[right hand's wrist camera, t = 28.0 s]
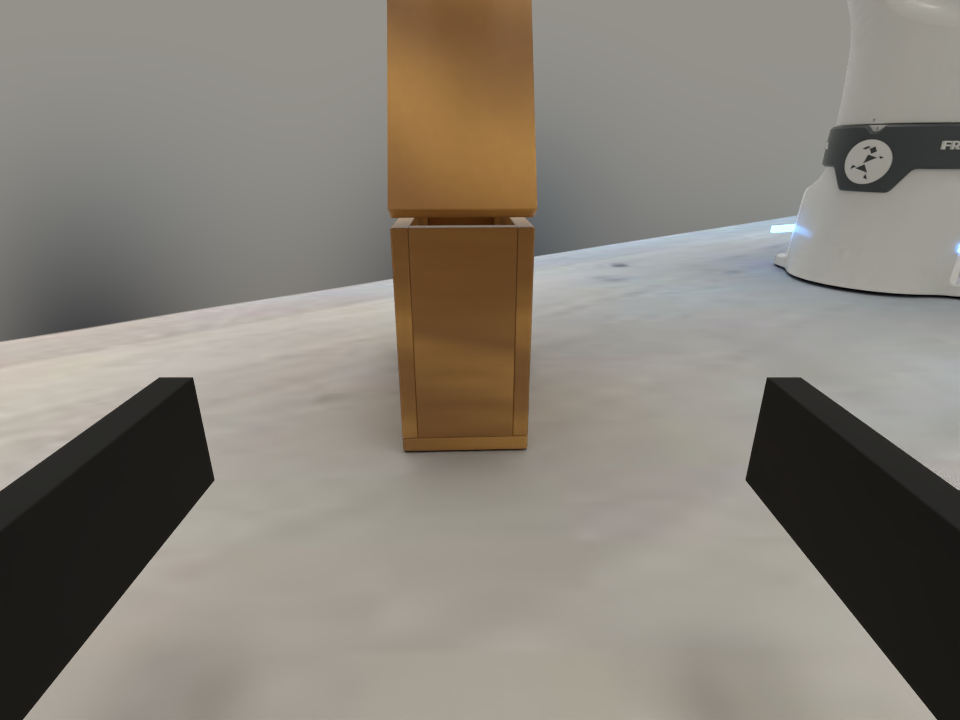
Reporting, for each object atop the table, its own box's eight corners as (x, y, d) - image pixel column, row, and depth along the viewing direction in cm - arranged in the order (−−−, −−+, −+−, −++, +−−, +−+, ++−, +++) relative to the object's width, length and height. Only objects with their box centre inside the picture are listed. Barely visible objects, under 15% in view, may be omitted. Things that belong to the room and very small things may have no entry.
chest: (423, 339, 38) (417, 195, 34) (501, 338, 38) (503, 195, 34) (403, 452, 24) (390, 227, 20) (527, 449, 24) (535, 226, 20)
